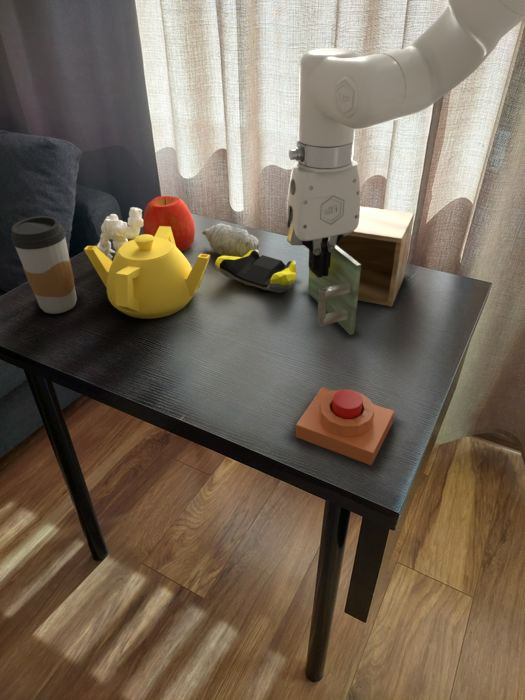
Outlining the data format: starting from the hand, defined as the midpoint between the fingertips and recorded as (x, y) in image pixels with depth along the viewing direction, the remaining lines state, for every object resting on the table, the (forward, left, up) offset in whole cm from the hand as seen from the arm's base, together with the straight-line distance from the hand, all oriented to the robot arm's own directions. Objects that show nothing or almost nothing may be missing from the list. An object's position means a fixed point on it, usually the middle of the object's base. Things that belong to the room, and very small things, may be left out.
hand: (318, 272), depth 82 cm
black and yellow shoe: (+15, +3, -9) cm, 18 cm away
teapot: (+19, +22, -9) cm, 31 cm away
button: (-24, +10, -5) cm, 26 cm away
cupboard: (+6, -13, -9) cm, 17 cm away
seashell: (+29, +3, -9) cm, 30 cm away
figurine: (+35, +23, -9) cm, 43 cm away
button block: (-24, +10, -9) cm, 27 cm away
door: (+1, 0, -8) cm, 9 cm away
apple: (+39, +12, -9) cm, 42 cm away
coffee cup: (+26, +37, -9) cm, 46 cm away
